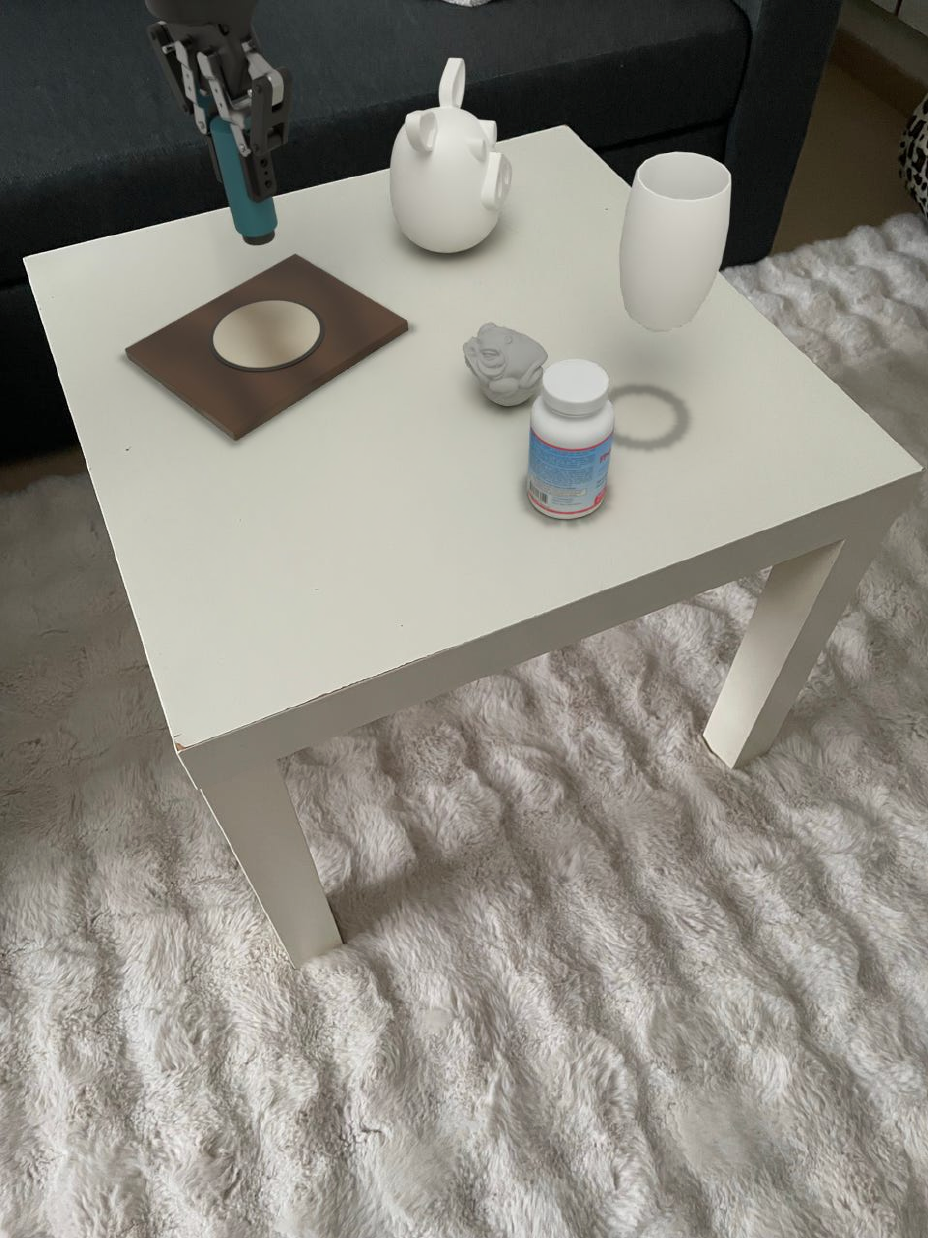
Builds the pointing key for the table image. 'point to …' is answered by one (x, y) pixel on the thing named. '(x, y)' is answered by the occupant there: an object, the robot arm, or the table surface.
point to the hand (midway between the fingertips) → (247, 186)
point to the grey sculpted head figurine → (505, 363)
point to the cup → (673, 238)
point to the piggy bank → (448, 172)
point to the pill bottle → (570, 440)
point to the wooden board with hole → (265, 344)
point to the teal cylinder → (242, 188)
